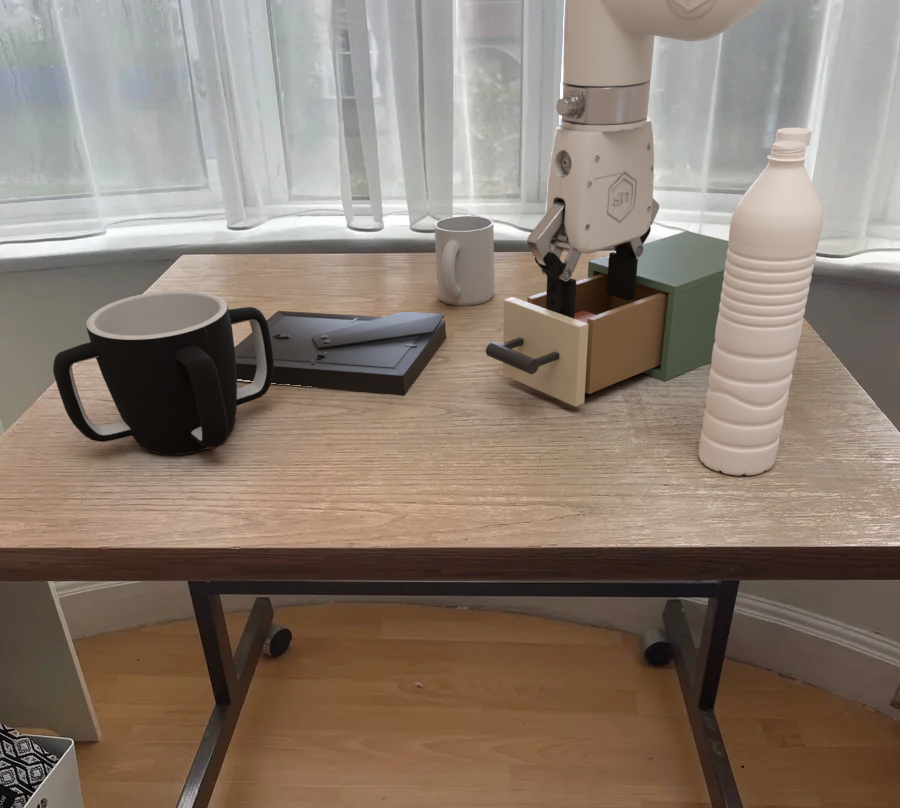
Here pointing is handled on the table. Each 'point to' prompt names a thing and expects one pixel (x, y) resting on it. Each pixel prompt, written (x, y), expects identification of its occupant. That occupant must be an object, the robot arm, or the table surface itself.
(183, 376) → the mug
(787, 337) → the water bottle
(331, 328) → the picture frame
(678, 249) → the cabinet
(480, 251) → the cup
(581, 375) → the drawer
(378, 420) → the table surface
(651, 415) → the table surface
